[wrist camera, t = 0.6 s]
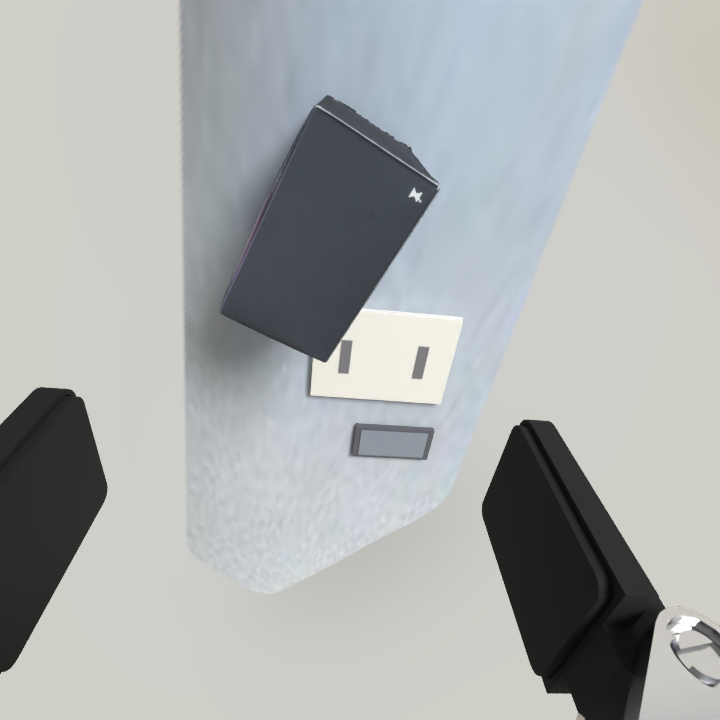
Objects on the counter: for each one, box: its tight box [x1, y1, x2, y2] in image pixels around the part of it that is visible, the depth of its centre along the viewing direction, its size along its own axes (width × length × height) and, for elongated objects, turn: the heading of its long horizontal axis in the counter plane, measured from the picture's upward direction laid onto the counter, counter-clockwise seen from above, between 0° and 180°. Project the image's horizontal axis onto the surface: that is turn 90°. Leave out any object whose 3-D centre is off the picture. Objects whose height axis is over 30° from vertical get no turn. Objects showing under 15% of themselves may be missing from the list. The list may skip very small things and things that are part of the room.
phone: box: [352, 423, 434, 460], centre depth 40 cm, size 4×7×1 cm, turn 84°
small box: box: [219, 95, 440, 363], centre depth 24 cm, size 11×6×10 cm, turn 150°
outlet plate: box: [310, 308, 463, 404], centre depth 35 cm, size 8×11×1 cm
